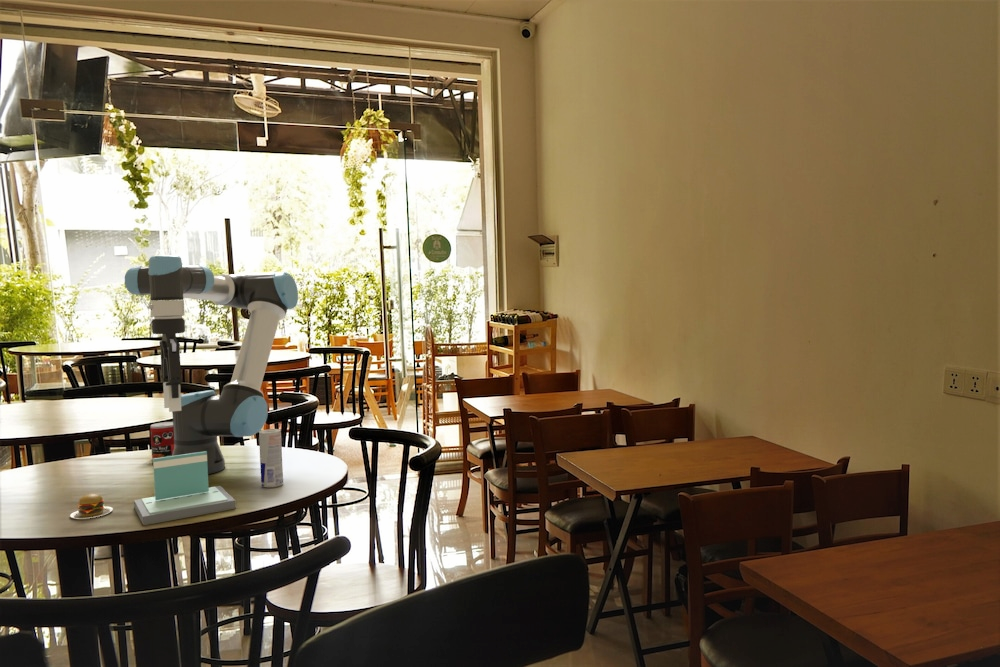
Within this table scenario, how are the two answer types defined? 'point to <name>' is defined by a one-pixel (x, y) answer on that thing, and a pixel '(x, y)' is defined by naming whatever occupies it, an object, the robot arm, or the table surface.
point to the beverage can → (271, 458)
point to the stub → (180, 475)
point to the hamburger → (91, 507)
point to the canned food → (162, 439)
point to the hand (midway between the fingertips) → (172, 409)
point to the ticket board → (183, 506)
